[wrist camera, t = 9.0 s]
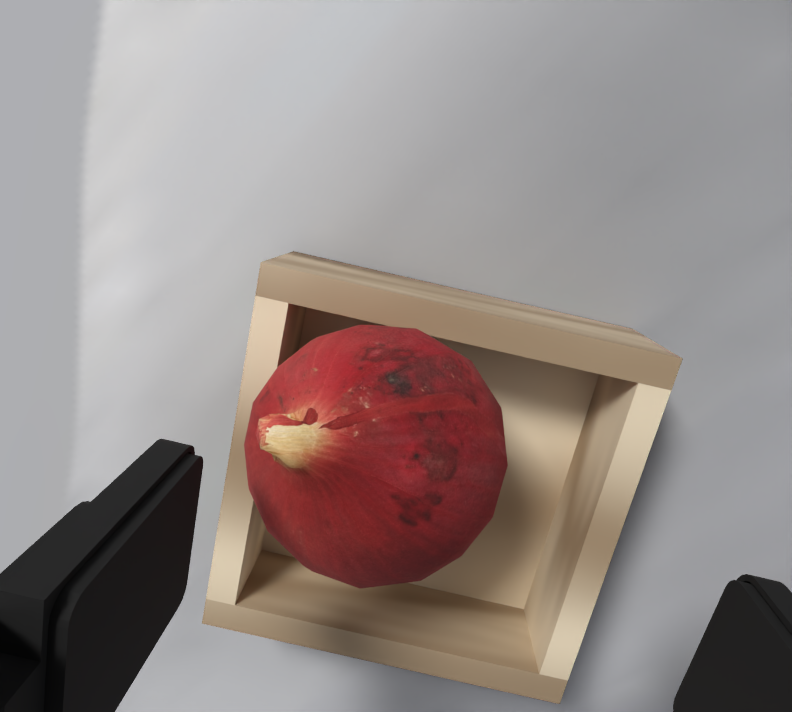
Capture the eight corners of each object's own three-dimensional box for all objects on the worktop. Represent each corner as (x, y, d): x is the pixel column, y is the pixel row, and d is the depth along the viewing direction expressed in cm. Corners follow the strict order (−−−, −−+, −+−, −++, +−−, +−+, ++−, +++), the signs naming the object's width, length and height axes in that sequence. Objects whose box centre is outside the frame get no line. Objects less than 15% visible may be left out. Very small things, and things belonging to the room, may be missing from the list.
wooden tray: (293, 251, 17) (260, 261, 14) (632, 328, 17) (682, 358, 14) (240, 551, 20) (201, 623, 16) (536, 618, 20) (559, 704, 16)
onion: (453, 324, 18) (351, 201, 10) (568, 495, 16) (543, 495, 8) (298, 430, 18) (100, 387, 11) (387, 605, 16) (219, 695, 9)
